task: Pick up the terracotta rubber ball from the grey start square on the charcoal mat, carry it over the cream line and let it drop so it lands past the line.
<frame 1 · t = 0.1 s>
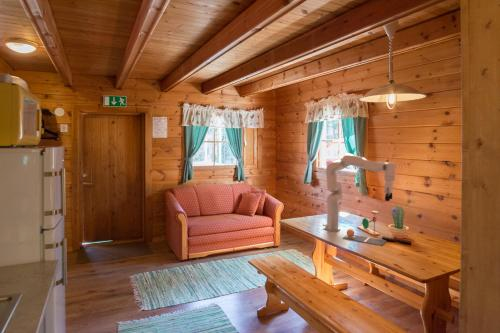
hand: (388, 199, 264), 31 cm above the table, tool pointing down, fingers open, 9 cm apart
ball: (350, 233, 269), point 4 cm above the table, touching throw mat
potted cactus: (397, 236, 272), on the table
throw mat: (364, 240, 263), on the table
crank mechanism: (368, 231, 286), on the table
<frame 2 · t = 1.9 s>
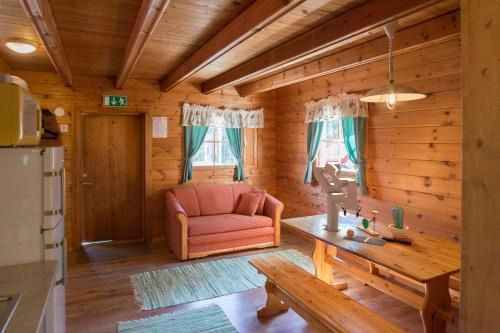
hand: (351, 216, 267), 17 cm above the table, tool pointing down, fingers open, 9 cm apart
nothing on the table moved.
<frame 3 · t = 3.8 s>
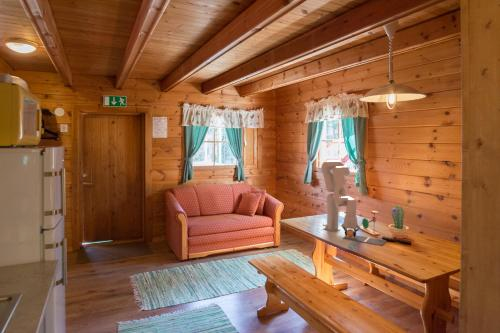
hand: (350, 235, 269), 1 cm above the table, tool pointing down, fingers closed on ball, 5 cm apart
ball: (350, 233, 269), point 4 cm above the table, touching gripper, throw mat
everything else where it was.
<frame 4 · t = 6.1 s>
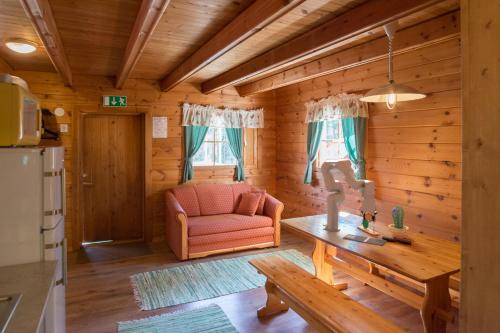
hand: (368, 219, 259), 17 cm above the table, tool pointing down, fingers closed on ball, 5 cm apart
ball: (368, 216, 259), point 19 cm above the table, touching gripper
everything else where it was.
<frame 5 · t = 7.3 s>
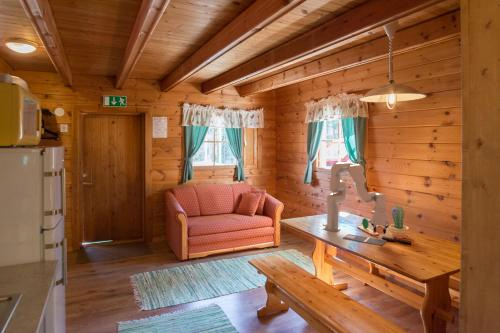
hand: (379, 232, 256), 8 cm above the table, tool pointing down, fingers closed on ball, 5 cm apart
ball: (379, 229, 255), point 10 cm above the table, touching gripper
everything else where it was.
when the fingers open (5 cm above the table, at t = 8.4 s): ball drops 3 cm, resting on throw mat.
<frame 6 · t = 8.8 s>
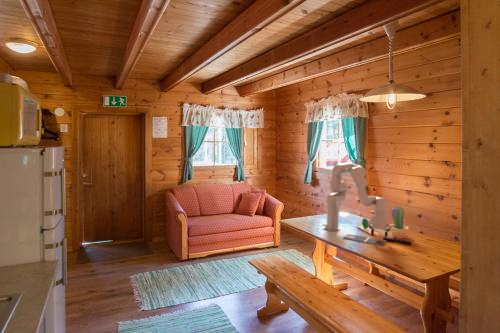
hand: (379, 235, 256), 5 cm above the table, tool pointing down, fingers open, 9 cm apart
ball: (379, 237, 256), point 4 cm above the table, touching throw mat
everything else where it was.
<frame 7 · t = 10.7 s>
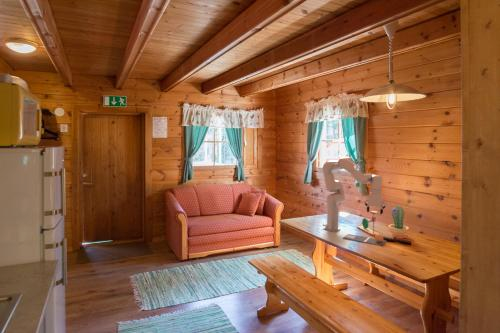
hand: (374, 212, 259), 22 cm above the table, tool pointing down, fingers open, 9 cm apart
nothing on the table moved.
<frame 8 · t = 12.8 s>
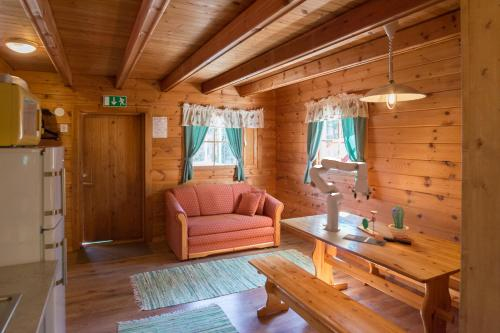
hand: (361, 199, 272), 30 cm above the table, tool pointing down, fingers open, 9 cm apart
nothing on the table moved.
at the end: ball inside the target area (10.4 cm from its centre), point 3.6 cm above the table; the gripper is holding nothing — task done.
